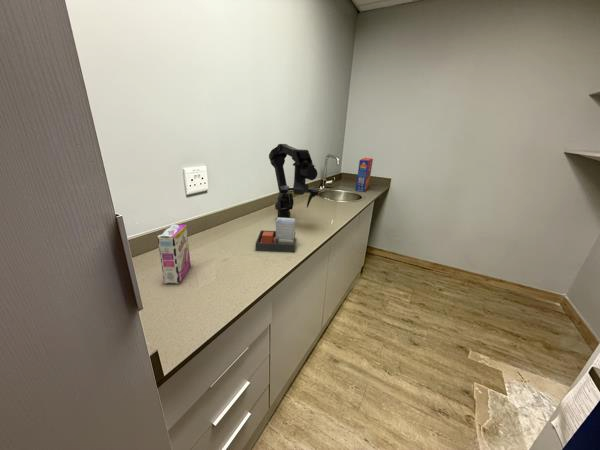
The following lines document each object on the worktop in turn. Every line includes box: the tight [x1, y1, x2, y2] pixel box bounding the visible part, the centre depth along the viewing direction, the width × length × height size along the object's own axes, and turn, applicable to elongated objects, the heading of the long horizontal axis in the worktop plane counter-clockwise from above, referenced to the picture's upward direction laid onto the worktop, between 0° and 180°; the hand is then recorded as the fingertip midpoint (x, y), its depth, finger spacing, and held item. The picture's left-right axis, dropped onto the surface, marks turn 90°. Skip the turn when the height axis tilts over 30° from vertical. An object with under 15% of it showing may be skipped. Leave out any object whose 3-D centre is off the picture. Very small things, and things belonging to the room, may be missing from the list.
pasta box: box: [355, 157, 374, 193], centre depth 231 cm, size 28×8×28 cm, turn 157°
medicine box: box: [275, 216, 296, 240], centre depth 105 cm, size 8×4×9 cm, turn 85°
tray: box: [255, 229, 296, 253], centre depth 107 cm, size 16×14×4 cm
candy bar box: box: [156, 223, 192, 285], centre depth 79 cm, size 11×5×16 cm, turn 5°
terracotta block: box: [262, 230, 274, 243], centre depth 107 cm, size 4×4×4 cm
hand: (298, 206), depth 124 cm, fingers open, 9 cm apart
